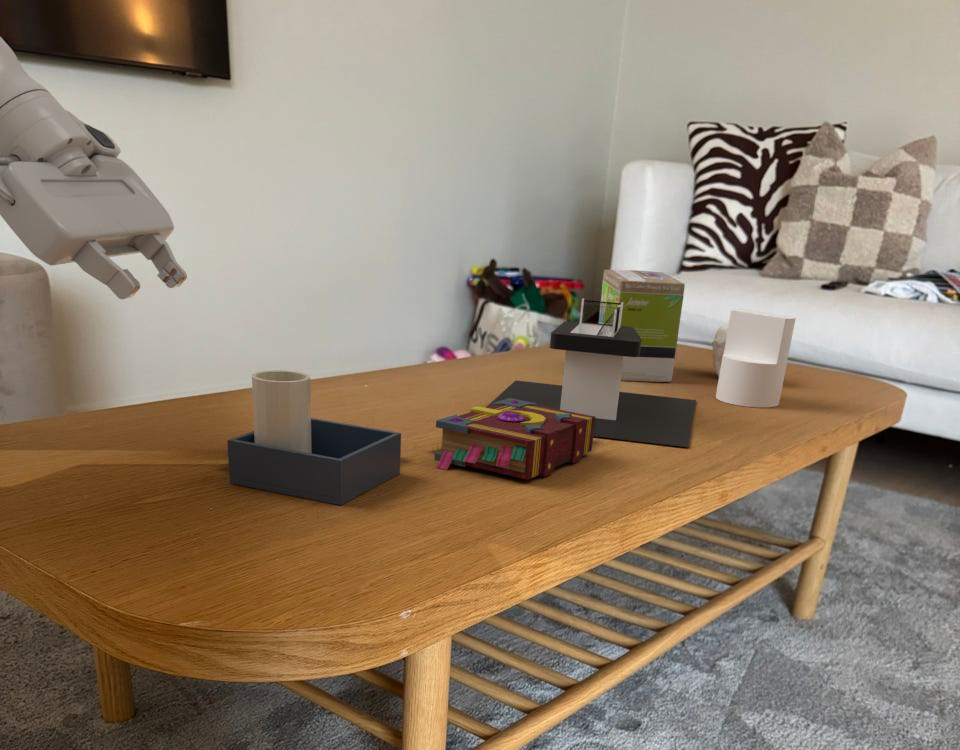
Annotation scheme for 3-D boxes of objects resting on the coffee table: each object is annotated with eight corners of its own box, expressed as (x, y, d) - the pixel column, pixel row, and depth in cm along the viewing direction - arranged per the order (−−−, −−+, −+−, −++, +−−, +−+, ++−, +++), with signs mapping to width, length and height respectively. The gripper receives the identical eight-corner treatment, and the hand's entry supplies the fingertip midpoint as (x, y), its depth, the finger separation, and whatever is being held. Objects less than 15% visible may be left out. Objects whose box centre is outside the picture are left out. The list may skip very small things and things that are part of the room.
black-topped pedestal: (688, 448, 111) (707, 329, 105) (469, 422, 116) (476, 307, 110) (695, 401, 136) (711, 302, 130) (515, 381, 141) (522, 285, 135)
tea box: (592, 362, 159) (602, 267, 153) (651, 365, 160) (664, 271, 154) (608, 380, 146) (620, 277, 139) (673, 383, 147) (688, 281, 140)
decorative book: (594, 455, 106) (599, 410, 104) (523, 488, 93) (527, 437, 91) (505, 436, 111) (508, 393, 109) (427, 465, 98) (429, 416, 96)
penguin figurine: (729, 316, 155) (800, 334, 149) (715, 369, 159) (784, 388, 154) (714, 319, 150) (787, 338, 145) (700, 373, 154) (771, 393, 149)
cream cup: (256, 480, 88) (252, 381, 84) (254, 464, 93) (251, 369, 89) (313, 479, 89) (312, 382, 85) (309, 464, 94) (307, 370, 90)
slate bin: (340, 505, 85) (340, 460, 83) (229, 483, 89) (226, 439, 87) (400, 473, 95) (401, 432, 93) (297, 454, 99) (296, 415, 97)
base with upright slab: (790, 402, 139) (807, 316, 134) (759, 410, 133) (776, 320, 128) (735, 391, 145) (750, 307, 139) (703, 397, 139) (718, 311, 133)
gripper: (-14, 124, 72) (122, 273, 75) (118, 135, 90) (223, 255, 93) (-59, 185, 74) (75, 327, 78) (79, 184, 92) (183, 299, 96)
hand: (157, 288), depth 86 cm, fingers open, 8 cm apart
